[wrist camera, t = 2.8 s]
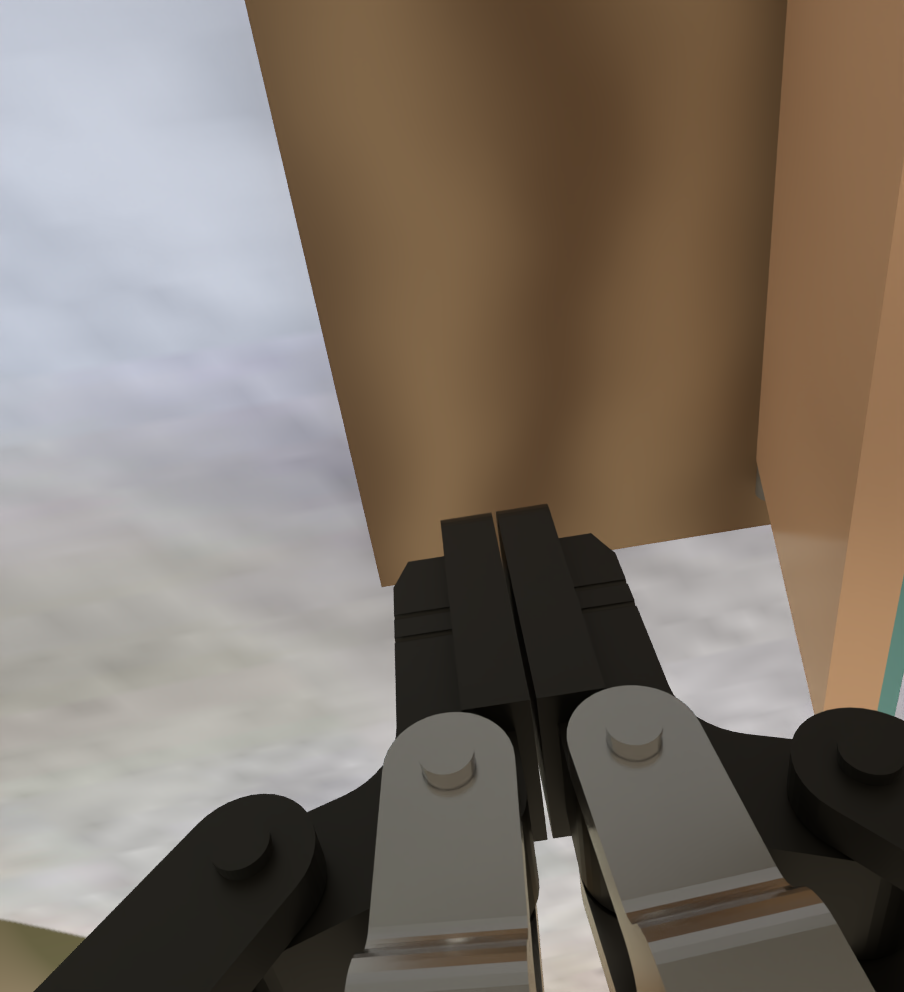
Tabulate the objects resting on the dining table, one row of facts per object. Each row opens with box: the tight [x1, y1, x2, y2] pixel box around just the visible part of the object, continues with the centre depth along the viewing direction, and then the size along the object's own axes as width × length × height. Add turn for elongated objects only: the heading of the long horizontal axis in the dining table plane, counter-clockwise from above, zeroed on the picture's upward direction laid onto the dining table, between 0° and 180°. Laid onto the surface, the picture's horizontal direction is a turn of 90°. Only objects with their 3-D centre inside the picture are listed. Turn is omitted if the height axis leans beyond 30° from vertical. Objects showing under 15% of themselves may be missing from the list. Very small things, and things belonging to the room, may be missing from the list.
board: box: [245, 0, 787, 587], centre depth 22 cm, size 24×18×3 cm
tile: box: [756, 0, 904, 716], centre depth 17 cm, size 10×12×1 cm
